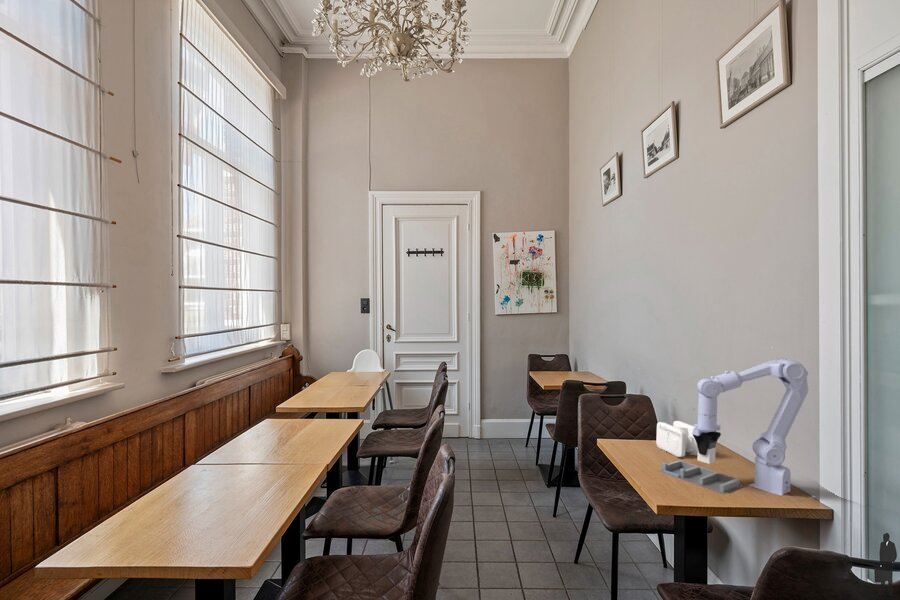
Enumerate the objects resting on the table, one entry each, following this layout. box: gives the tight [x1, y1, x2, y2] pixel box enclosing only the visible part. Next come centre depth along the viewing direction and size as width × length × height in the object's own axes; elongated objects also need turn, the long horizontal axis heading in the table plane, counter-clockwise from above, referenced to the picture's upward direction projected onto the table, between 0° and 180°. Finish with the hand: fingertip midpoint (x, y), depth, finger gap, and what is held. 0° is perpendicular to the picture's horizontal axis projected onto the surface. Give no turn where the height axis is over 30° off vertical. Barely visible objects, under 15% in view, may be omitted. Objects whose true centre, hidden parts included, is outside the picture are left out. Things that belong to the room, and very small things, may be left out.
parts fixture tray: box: [657, 459, 744, 495], centre depth 160 cm, size 23×13×3 cm, turn 33°
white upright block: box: [696, 440, 717, 465], centre depth 158 cm, size 4×4×7 cm
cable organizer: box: [656, 420, 698, 458], centre depth 188 cm, size 15×11×12 cm
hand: (706, 453), depth 158 cm, fingers closed on white upright block, 4 cm apart
